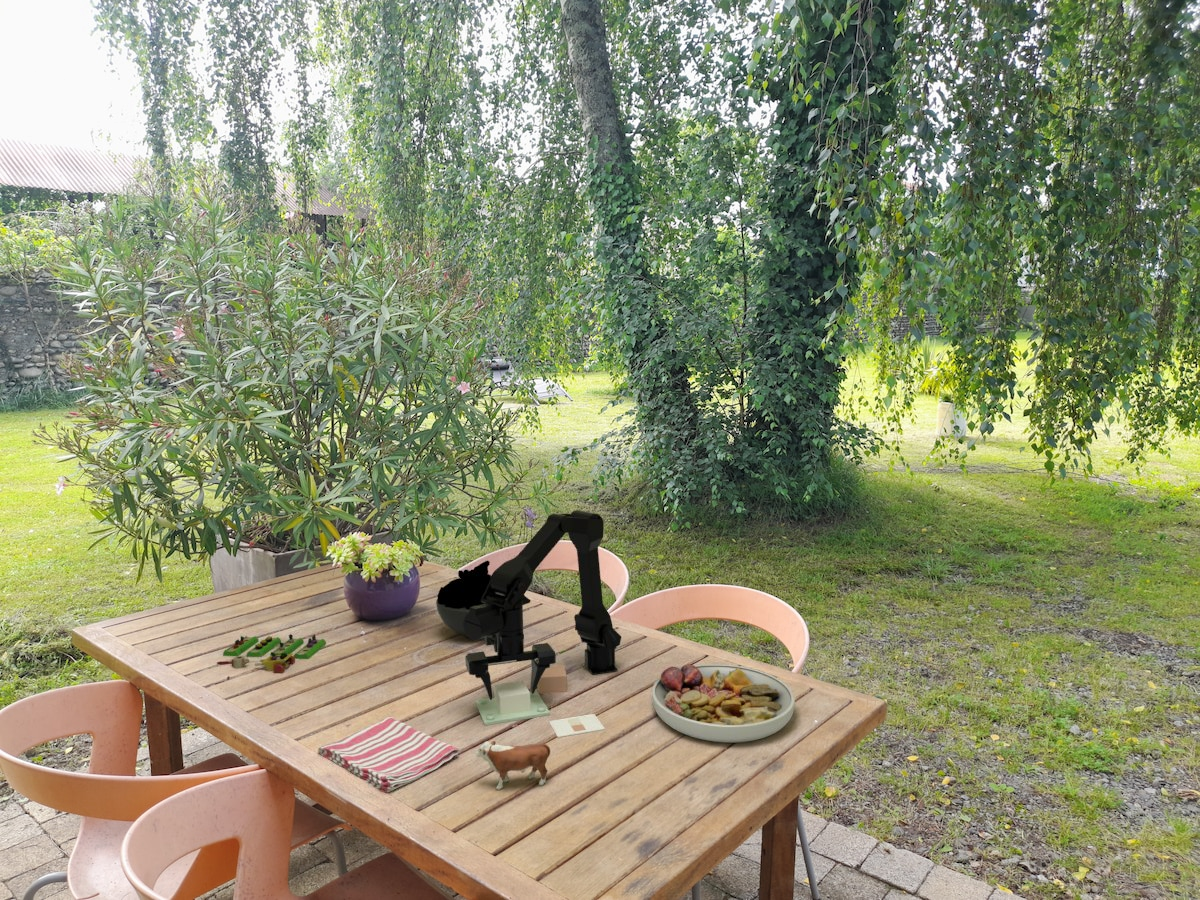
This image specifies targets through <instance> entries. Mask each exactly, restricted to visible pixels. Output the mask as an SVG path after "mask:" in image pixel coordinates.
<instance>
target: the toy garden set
mask: <svg viewBox="0 0 1200 900" xmlns="http://www.w3.org/2000/svg"><path fill="white" fill-rule="evenodd" d="M288 638H289V639H287V640H286V641H285V642H282V640H281V638H280V637H272V636H267V637H266V638H265V639H262V640H260V642H259V638H258V637H257V636H248V635H245V636H243V635H240V639H239V638H238V639H236V640H235V641H234V644H233V645H231V646H229V647H228V648H225V649H224V651H222V655H223V657H226V656H227V657H233V658H232V659H231V661H229V660H227V661H224V660H223V661H217V662H216V664H217V665H232V666H233V668H234V669H237V670H238V669H243V668H245V667H246V665H247V664H249V663H250V659H249V658H262V657H263V656H266V655H267V654H268V653H269V652H270V651H271V652H270V654H269V655H270V656H268V657H267V658H265V659H260V660H259V661H258V660H257V661H251V663H254V666H260V667H261V666H264V668H266V669H267V671H269V672H273V674H281V675H282V674H283V673H285V671H286V669H287V668H289V665H291V666H292V665H294V664H295V663H296V659H297V660H309V659H311V658H312V657H313V656H314V655H315V654H316V653H317V652H319V651H320V650H322V648H323V647H325V645H326V644H327V641H326V640H325V639H324V638H321V639H317V637H316V634H315V633H313V635H312V636H311V638H308V640H307V641H308V642H307V644H306V645H304V646H302V645H303V644H304V643H305V642H304V639H303V638H302V637H299V638H294V636H293V634H292V633H290V634H288ZM253 646H255V647H253ZM276 646H278V647H277V648H276ZM301 646H302V647H301ZM251 647H253V648H252V649H250V648H251ZM300 647H301V648H300ZM274 648H276V649H275V650H273V649H274ZM298 648H300V649H299V650H298V651H297V652H295V651H296V650H297V649H298ZM247 650H249V651H248V652H247V653H246V657H248V658H245V656H244V655H242V654H244V653H245V652H246V651H247ZM272 650H273V651H272ZM293 652H295V654H293Z"/></svg>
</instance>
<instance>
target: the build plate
mask: <svg viewBox="0 0 1200 900" xmlns="http://www.w3.org/2000/svg"><path fill="white" fill-rule="evenodd" d="M529 692H530V711H525V712H518V713H512V714H506V715H500V713H499V711H498V709H497V706H496V704H495V700H494V697H492V700H490V699H489V697H488V698H486V697H481V698H479V699H477V700H475V705H476V707H477V710H478V712H479V715H480V717H481V720H482V722H483V725H484V726H490V725H496V724H502V723H509V722H515V721H521V720H522V721H523V720H527V719H528V720H529V719H533V718H540V717H546V716H550V715H551V714H550V713H551V712H550V710H549V708H548V707H547V705H546V703H545V702H544V700H543V698H542V697H541V695H540V694H539V693H538V690H535V692H534V694H532V693H531V690H529Z"/></svg>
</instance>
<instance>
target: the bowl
mask: <svg viewBox="0 0 1200 900" xmlns="http://www.w3.org/2000/svg"><path fill="white" fill-rule="evenodd" d="M651 700H652V701H651V702H652V706H653V709H654V710H655V711H656V712H655V713H657V715H658V717H659V718H660V719H661V720H662V721H663V722H664V723H665V724H667V725H668V726H669V727H671V729H674V730H675V731H677V732H679V733H681V734H684V735H685V736H689V737H692V738H694V739H698V740H703V741H709V742H715V743H745V742H752V741H758V740H761V739H764V738H766V737H769V736H772V735H773V734H775V733H777V732H778V731H780V730H782V729H783V728H785V726H786V725H787V724H788V722H789V721H790V720H791V718H792V716H793V714H794V711H795V707H796V706H795V705H796V703H795V700H796V699H795V694H794V691H793V690H792V689H791V688H790V686H789V685H788V684H786V683H785V682H784V681H782V680H780V679H779V678H778V677H775V676H773V675H771V674H769V673H766V672H764V671H760V670H759V669H758V670H757V669H755V668H750V667H746V666H740V665H733V664H732V665H730V664H717V663H716V664H715V663H714V664H712V663H711V664H697V665H694V664H684V665H682V667H677V666H670V667H668V668H666V669H665V670H664V671H662V673H661V675H660V677H659V678H658V679H657V680H656V681H655V682H654V684H653V685H652V689H651Z"/></svg>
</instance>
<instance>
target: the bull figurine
mask: <svg viewBox="0 0 1200 900" xmlns="http://www.w3.org/2000/svg"><path fill="white" fill-rule="evenodd" d="M475 754H476V755H475V756H476V757H477V758H480V757H481V758H482V759H483V760H484V761H486V762H488V765H489V766H490V768H491V769H492V770H493V771H494V772H495V773H497V774H499V776H498V780H499V781H498V783H497V786H496V787H495V791H501V789H503V788H504V785H503V783H507V782H508V781H510V776H509V772H521V773H525V771H526V770H527V769H529V768H531V767H532V769H531V771H530V773H529V774H528V775H527V776H526V778H525V779H526V780H531V779H532V778H535V775H536V773H537V771H538V772H539V774H540V780H539V781H538V786H539V787H542V786H544V783H545V784H546V778H547V774H548V769H547V767H546V763H547V760H548V759H549V757H550V755H551V747H550V746H549V745H548V744H546V743H537V744H535V743H534V744H530V743H529V744H524V745H515V746H514V745H501V744H496V741H495V740H492V741H491V742H490V741H487V740H486V741H485V742H484V743H482V744H481V746H480V747H479V749H477V751H476V752H475Z"/></svg>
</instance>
